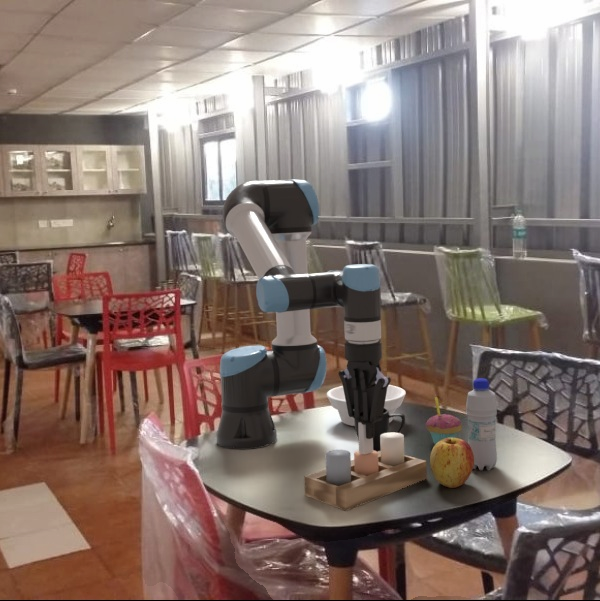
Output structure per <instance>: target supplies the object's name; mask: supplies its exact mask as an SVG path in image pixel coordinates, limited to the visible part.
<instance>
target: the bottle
mask: <svg viewBox="0 0 600 601" xmlns="http://www.w3.org/2000/svg"><path fill="white" fill-rule="evenodd" d="M472 384H473V386H472V387H473V388H472V389H473V390H470V391H469V392H468V393H467V398H466V404H465V408H466V412H465V414H466V416H467V443H468V444H469V445H470V447H471V449H472V451H473V455H474V466H473V469H472V470H476V469H477V468H478V469H479V471H484V467H486V470H487V471H490V470H492V469H493V468H495V467H496V465H497V460H498V456H497V455H498V454H497V453H498V452H497V444H496V435H497V434H496V427H497V426H496V424H497V423H496V417H497V414H498V412H497V411H498V404H497V403H498V402H497V398H496V392H494V391H492V390H491V389H490V382H489V380H488V379H487V378H483V377H481V378H480V377H479V378H475V379H474V380H473V383H472Z"/></svg>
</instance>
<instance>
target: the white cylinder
mask: <svg viewBox="0 0 600 601" xmlns="http://www.w3.org/2000/svg"><path fill="white" fill-rule="evenodd" d="M380 446H381V463H384V464H387V465H390V466H396V465H399V464H402V463H404V455H405V435H404V434H403V433H401V432H400V433H397V432H394V431H393V432H391V431H390V432H388V433H384V434H381V435H380Z"/></svg>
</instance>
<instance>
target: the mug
mask: <svg viewBox="0 0 600 601" xmlns="http://www.w3.org/2000/svg"><path fill="white" fill-rule="evenodd" d="M391 417H393V418H394V417H400V418H401V423H400V426H399V428H398V429H397V431H396V433H401V432H402V430H403V428H404V427H405V423H406V415H405V414H403V413H394V414H389V410H388V409H386V408H384V411H383V417H382V420H379V421H376V422H375V424H374V426H375V436H374V438H373V450H374V451H377V452H378V451H381V446H380V435H381V434H384V433H389V429H390V428H389V427H390V423H389V418H391ZM354 422H355V426H354V429H355V434H356V438H357V441H358V442H359V436H357V426H356V421H355V419H354Z"/></svg>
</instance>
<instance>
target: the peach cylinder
mask: <svg viewBox="0 0 600 601" xmlns="http://www.w3.org/2000/svg"><path fill="white" fill-rule="evenodd" d="M353 460H354V470H355V472H356V473H359V474H362V475H365V476H368V475H371V474H374V473H377V472H379V467H378V452H377V451H374V450H373V452H371V453H368V454H365V455H363V454H360V453H359V450H356V451H354V453H353Z"/></svg>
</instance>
